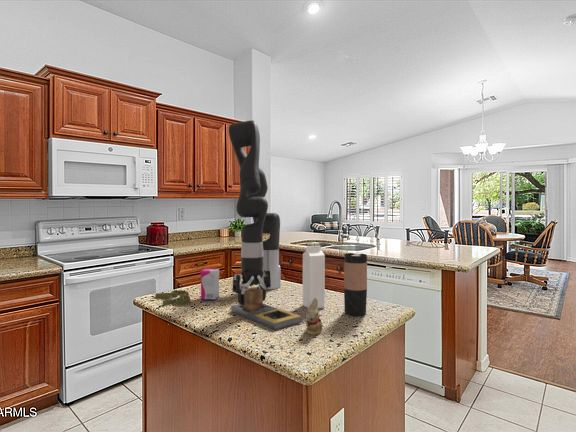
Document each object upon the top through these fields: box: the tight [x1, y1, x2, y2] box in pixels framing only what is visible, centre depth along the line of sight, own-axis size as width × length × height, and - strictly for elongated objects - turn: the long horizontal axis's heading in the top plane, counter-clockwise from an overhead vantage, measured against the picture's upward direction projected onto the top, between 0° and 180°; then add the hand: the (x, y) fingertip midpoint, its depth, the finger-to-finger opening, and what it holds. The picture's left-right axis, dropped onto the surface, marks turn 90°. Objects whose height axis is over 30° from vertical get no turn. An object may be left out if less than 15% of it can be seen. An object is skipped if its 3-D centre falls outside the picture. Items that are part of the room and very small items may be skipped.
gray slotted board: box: [230, 303, 301, 331], centre depth 115 cm, size 10×24×2 cm, turn 41°
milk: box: [302, 245, 326, 309], centre depth 127 cm, size 6×6×22 cm
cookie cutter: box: [154, 289, 191, 307], centre depth 137 cm, size 18×12×2 cm, turn 32°
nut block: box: [242, 286, 264, 311], centre depth 120 cm, size 5×5×8 cm
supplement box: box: [200, 268, 220, 302], centre depth 138 cm, size 6×6×12 cm
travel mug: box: [343, 252, 368, 317], centre depth 120 cm, size 8×8×20 cm
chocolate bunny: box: [305, 298, 323, 336], centre depth 102 cm, size 6×8×10 cm
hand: (252, 302), depth 120 cm, fingers open, 8 cm apart
